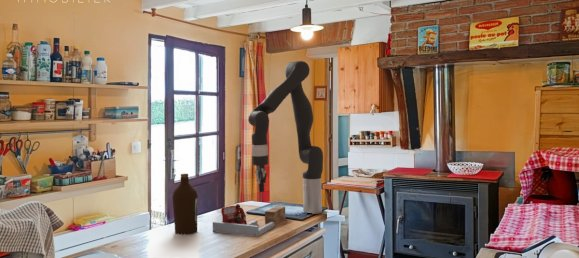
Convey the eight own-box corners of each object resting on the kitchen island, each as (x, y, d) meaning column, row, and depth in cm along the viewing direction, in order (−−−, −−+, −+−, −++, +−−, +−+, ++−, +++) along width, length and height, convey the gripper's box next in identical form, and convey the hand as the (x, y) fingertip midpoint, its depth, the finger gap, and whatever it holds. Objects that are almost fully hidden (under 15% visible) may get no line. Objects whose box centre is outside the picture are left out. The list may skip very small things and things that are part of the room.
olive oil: (174, 236, 192) (172, 176, 191) (172, 229, 202) (171, 173, 201) (200, 233, 195) (198, 175, 194) (197, 227, 205) (195, 171, 204)
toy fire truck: (250, 227, 205) (249, 204, 204) (227, 233, 196) (226, 208, 195) (240, 224, 210) (240, 201, 209) (218, 230, 201) (217, 206, 201)
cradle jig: (232, 222, 214) (232, 213, 213) (274, 226, 205) (274, 217, 205) (212, 231, 199) (212, 222, 198) (257, 236, 190) (256, 226, 190)
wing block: (276, 218, 220) (276, 205, 220) (285, 219, 218) (285, 206, 218) (265, 224, 209) (264, 211, 209) (274, 225, 207) (273, 212, 207)
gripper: (271, 155, 207) (273, 193, 208) (264, 152, 220) (265, 188, 221) (255, 156, 205) (256, 195, 206) (248, 153, 218) (250, 189, 219)
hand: (261, 191), depth 213 cm, fingers closed
